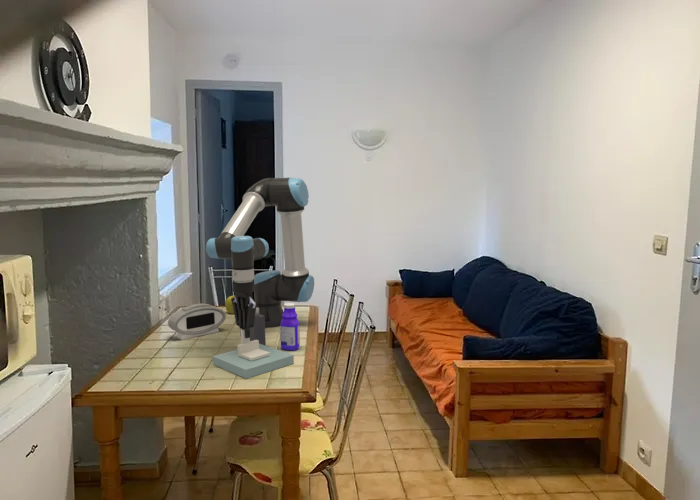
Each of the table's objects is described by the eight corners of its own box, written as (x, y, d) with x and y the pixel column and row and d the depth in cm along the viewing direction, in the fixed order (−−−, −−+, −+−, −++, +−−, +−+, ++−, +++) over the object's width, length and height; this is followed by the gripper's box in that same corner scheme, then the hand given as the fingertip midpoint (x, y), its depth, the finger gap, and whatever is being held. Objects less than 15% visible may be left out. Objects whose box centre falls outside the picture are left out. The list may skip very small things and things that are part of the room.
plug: (257, 343, 218) (256, 306, 216) (265, 346, 215) (264, 308, 213) (247, 346, 215) (246, 308, 213) (255, 349, 211) (253, 310, 209)
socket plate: (259, 351, 208) (259, 343, 208) (293, 363, 194) (293, 355, 194) (212, 364, 194) (212, 356, 194) (246, 378, 180) (245, 369, 180)
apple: (226, 308, 271) (231, 289, 270) (241, 313, 271) (246, 294, 269) (220, 312, 264) (226, 293, 262) (236, 317, 263) (241, 298, 261)
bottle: (302, 347, 213) (301, 302, 210) (296, 351, 207) (294, 306, 205) (284, 345, 215) (283, 301, 213) (278, 349, 210) (277, 304, 207)
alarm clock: (175, 342, 221) (173, 310, 220) (168, 338, 226) (166, 308, 224) (226, 330, 237) (225, 301, 235) (219, 327, 241) (218, 299, 240)
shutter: (256, 350, 199) (256, 339, 199) (270, 355, 194) (269, 344, 193) (237, 355, 193) (237, 344, 193) (251, 360, 188) (250, 349, 187)
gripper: (223, 279, 195) (226, 344, 198) (245, 284, 186) (247, 352, 189) (241, 277, 200) (243, 340, 204) (263, 281, 191) (265, 347, 194)
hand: (245, 346), depth 196 cm, fingers closed
